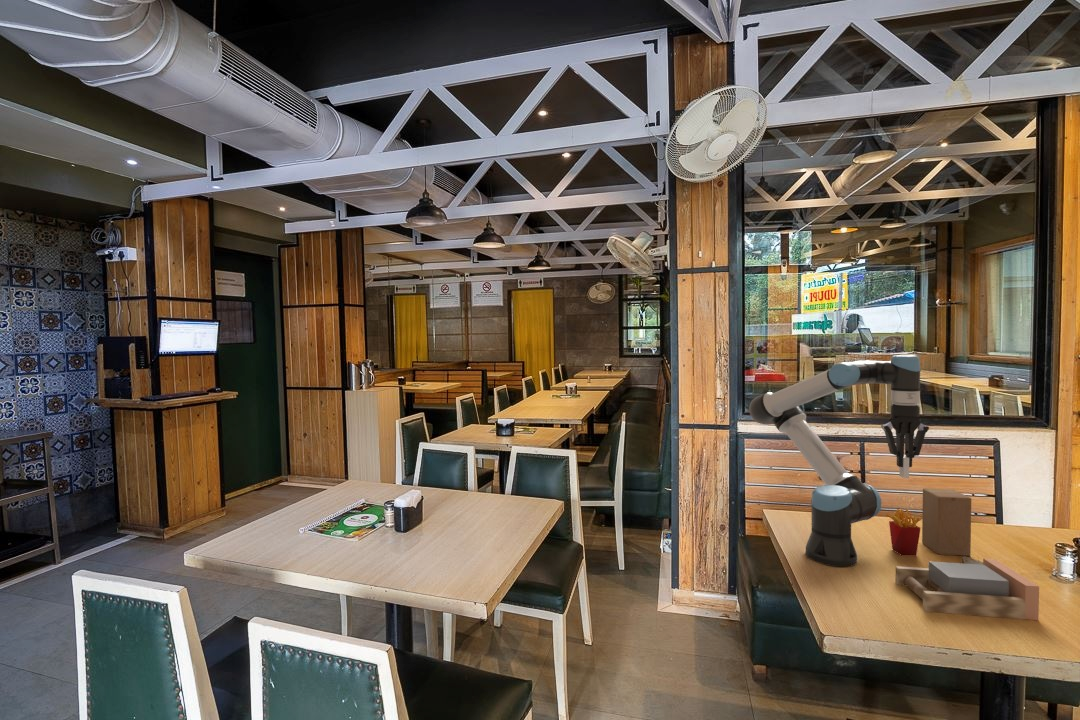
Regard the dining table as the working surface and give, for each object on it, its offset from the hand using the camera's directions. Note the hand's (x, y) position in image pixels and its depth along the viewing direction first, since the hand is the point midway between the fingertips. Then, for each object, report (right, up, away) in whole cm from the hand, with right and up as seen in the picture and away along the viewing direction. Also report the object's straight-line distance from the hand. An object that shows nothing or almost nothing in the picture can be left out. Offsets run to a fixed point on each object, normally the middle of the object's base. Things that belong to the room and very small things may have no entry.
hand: (904, 476), depth 161 cm
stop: (+13, -30, -22) cm, 39 cm away
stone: (+21, -30, -5) cm, 37 cm away
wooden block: (+24, -29, +14) cm, 40 cm away
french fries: (+8, -29, +13) cm, 33 cm away
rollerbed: (+1, -30, -19) cm, 36 cm away
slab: (+3, -27, -20) cm, 33 cm away
